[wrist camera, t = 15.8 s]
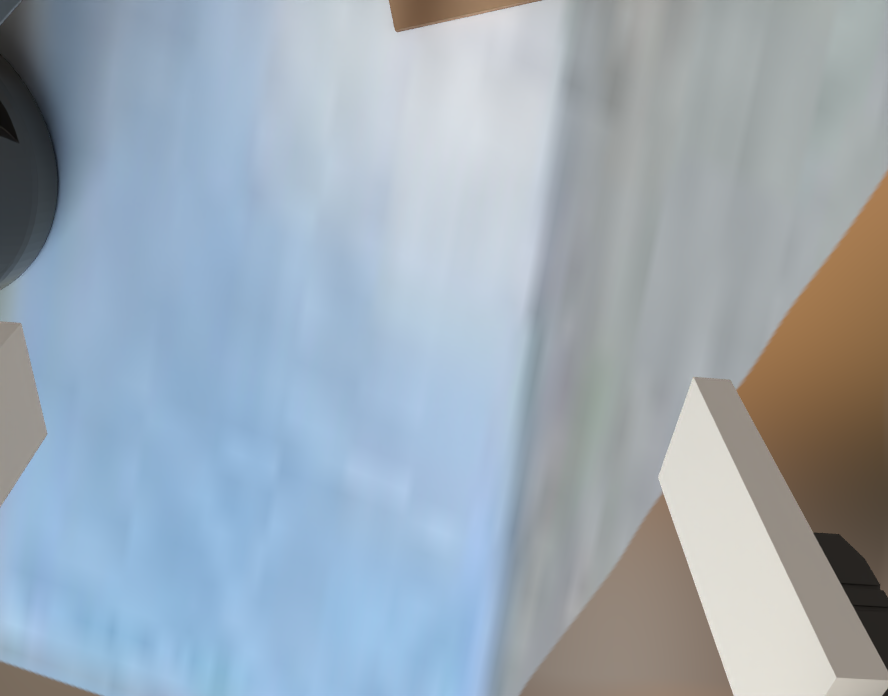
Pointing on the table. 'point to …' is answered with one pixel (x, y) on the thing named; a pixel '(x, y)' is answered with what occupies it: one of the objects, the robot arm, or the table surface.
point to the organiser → (442, 10)
